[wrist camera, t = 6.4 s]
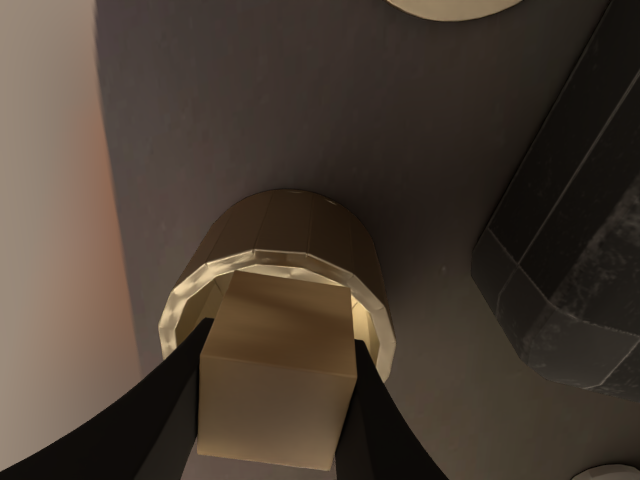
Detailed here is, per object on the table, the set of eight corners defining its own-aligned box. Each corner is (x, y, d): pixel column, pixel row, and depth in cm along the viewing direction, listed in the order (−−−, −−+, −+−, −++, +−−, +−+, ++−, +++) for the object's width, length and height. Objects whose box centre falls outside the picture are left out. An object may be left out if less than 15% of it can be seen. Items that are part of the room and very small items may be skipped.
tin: (209, 331, 24) (172, 421, 19) (197, 181, 20) (144, 240, 14) (366, 342, 24) (376, 436, 19) (390, 196, 20) (415, 261, 14)
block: (228, 356, 15) (196, 454, 11) (234, 269, 13) (199, 355, 10) (330, 370, 15) (329, 471, 12) (350, 286, 13) (358, 377, 10)
